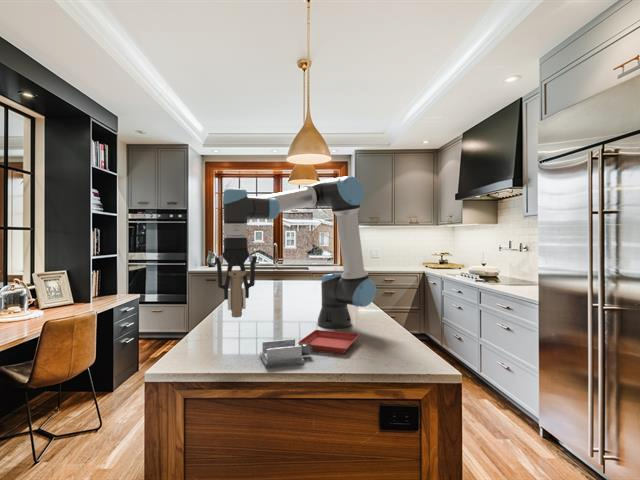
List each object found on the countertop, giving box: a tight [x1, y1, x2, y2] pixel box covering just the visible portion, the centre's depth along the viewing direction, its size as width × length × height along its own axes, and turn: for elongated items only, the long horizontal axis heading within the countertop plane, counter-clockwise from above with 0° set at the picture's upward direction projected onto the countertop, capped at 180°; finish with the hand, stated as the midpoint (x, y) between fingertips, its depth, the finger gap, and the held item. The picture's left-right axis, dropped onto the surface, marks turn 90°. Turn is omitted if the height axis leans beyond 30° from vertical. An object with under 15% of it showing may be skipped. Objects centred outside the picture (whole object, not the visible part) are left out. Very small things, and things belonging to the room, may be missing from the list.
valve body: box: [259, 338, 313, 369], centre depth 121 cm, size 16×12×5 cm
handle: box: [225, 269, 247, 319], centre depth 120 cm, size 5×6×15 cm
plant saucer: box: [297, 329, 360, 355], centre depth 135 cm, size 18×18×3 cm
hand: (236, 308), depth 120 cm, fingers closed on handle, 4 cm apart
